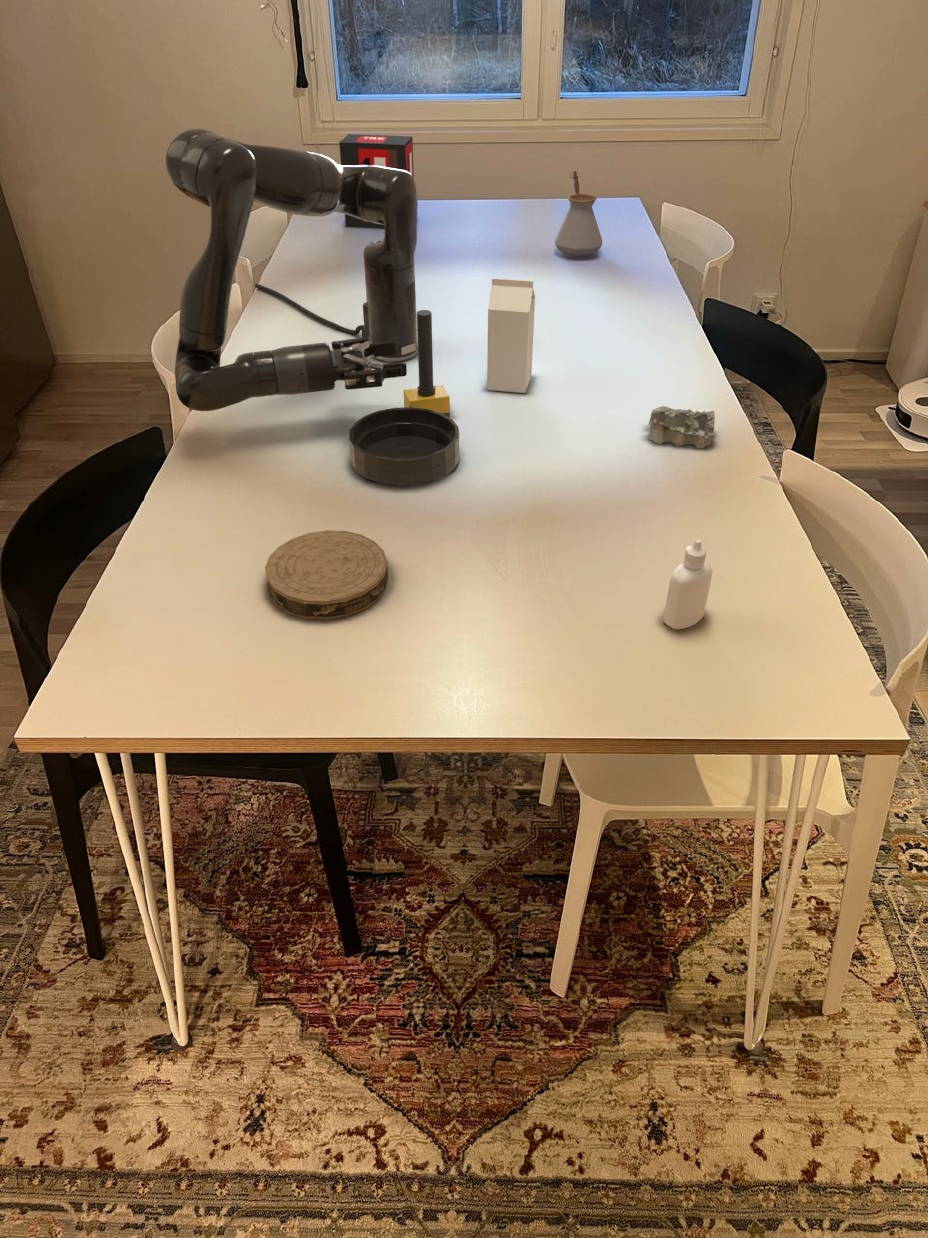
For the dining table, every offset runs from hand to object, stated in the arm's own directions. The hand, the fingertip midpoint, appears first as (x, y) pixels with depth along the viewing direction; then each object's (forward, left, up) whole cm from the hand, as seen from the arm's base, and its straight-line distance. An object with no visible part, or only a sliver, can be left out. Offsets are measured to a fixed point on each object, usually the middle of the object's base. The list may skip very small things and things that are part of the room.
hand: (400, 357), depth 155 cm
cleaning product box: (-68, +86, -11) cm, 110 cm away
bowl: (+9, -12, -11) cm, 18 cm away
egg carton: (+43, +19, -11) cm, 48 cm away
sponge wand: (+3, +3, -11) cm, 12 cm away
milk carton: (+9, +21, -11) cm, 25 cm away
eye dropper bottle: (+62, -26, -11) cm, 68 cm away
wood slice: (+19, -44, -11) cm, 49 cm away
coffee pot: (-16, +96, -11) cm, 98 cm away
